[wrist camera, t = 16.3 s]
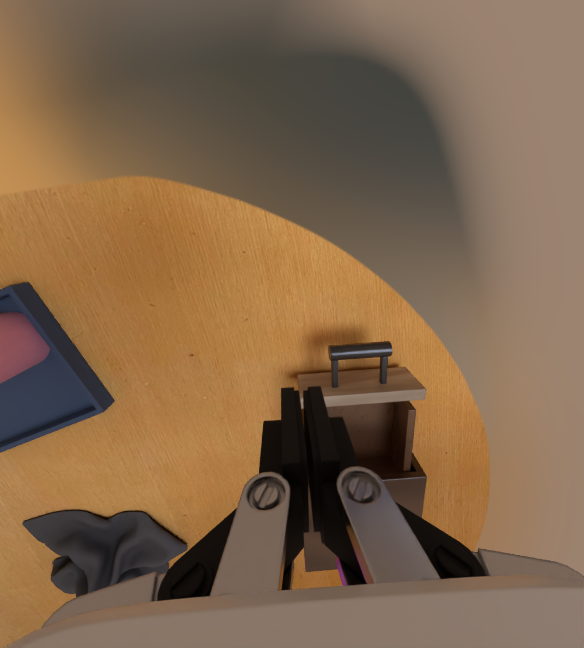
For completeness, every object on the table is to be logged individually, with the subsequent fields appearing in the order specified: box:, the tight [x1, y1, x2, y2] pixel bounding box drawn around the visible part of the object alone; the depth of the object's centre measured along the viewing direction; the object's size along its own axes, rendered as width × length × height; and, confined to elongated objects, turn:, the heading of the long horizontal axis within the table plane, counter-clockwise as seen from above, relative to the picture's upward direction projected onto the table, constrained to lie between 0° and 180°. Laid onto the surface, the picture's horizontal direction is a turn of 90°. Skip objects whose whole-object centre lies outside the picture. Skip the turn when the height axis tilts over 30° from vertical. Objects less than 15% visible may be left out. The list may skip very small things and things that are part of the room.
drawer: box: [297, 341, 426, 475], centre depth 30 cm, size 17×12×5 cm
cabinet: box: [304, 453, 427, 572], centre depth 34 cm, size 14×14×7 cm
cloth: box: [22, 510, 187, 597], centre depth 37 cm, size 22×19×6 cm
